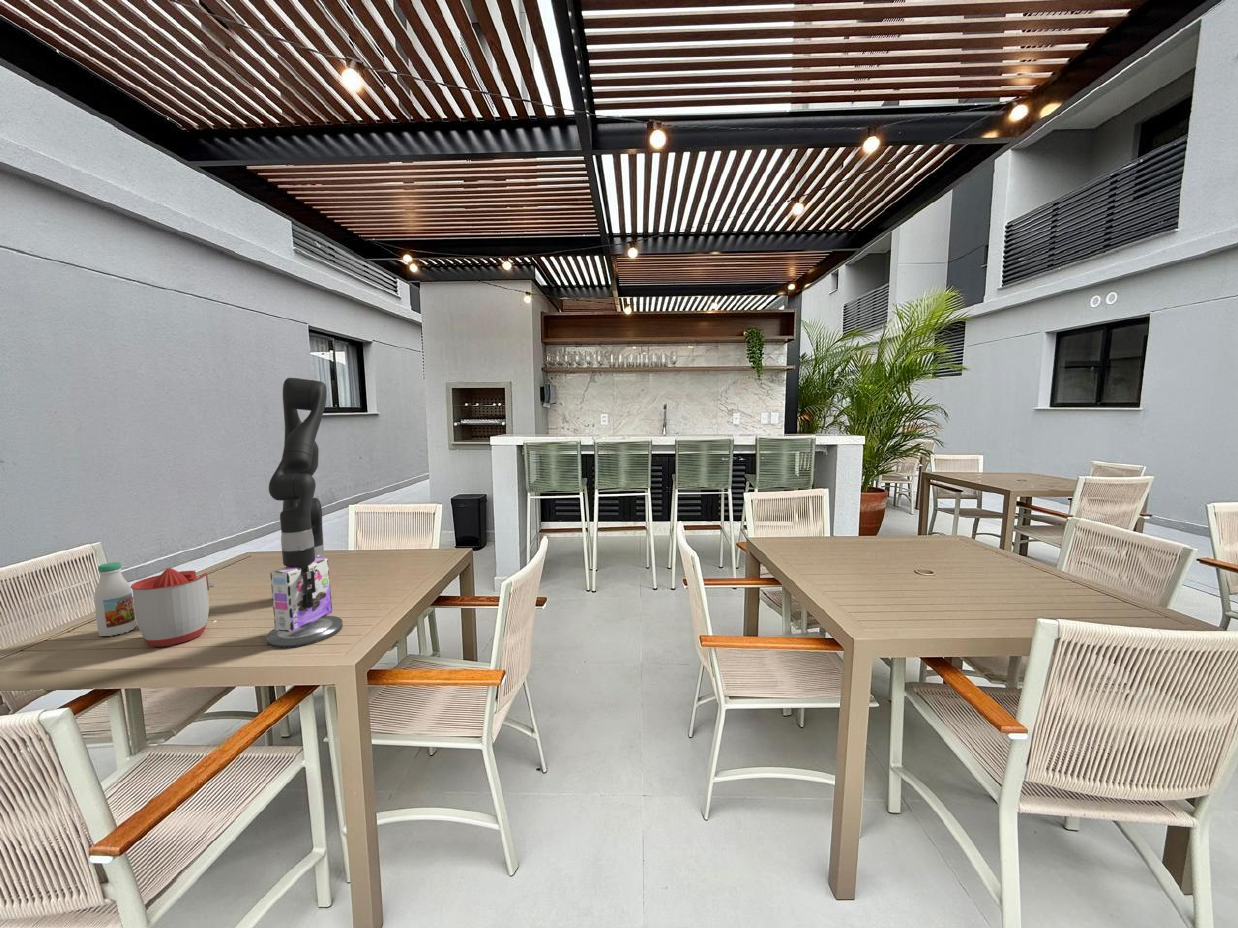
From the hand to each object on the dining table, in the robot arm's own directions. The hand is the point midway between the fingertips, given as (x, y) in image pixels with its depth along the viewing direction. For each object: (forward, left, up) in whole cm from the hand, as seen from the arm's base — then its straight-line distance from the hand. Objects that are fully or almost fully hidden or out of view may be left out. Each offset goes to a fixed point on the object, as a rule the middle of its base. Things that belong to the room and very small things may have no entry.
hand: (303, 603), depth 139 cm
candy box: (0, 0, -5) cm, 5 cm away
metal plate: (0, 0, -8) cm, 8 cm away
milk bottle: (-46, -34, -9) cm, 58 cm away
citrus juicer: (-26, -23, -9) cm, 36 cm away
